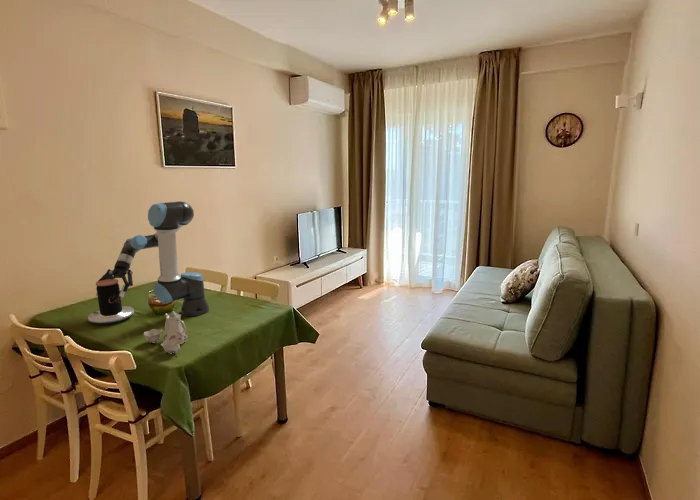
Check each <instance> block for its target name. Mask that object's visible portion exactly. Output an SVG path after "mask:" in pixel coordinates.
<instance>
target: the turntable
mask: <svg viewBox="0 0 700 500" xmlns="http://www.w3.org/2000/svg"><path fill="white" fill-rule="evenodd" d="M134 313H135V309H134V308H133V307H132V306H127V305H122V311H121V312H120V313H118V314H115V315H111V316H103V315H102V314H100V309H98V310H96V311H92V312H91V313H90V314H88V316H87V320H88V322H90V323H92V324H96V323H108V322H114V321H118V320H122V319H125V318H127V317H128V318H130V317H131V316H132V315H134ZM128 318H127V319H128Z"/></svg>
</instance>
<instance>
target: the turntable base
mask: <svg viewBox="0 0 700 500" xmlns="http://www.w3.org/2000/svg"><path fill="white" fill-rule="evenodd" d="M128 318H129V317H127V318H125V319H122V320H118V321H114V322H108V323H95V324H96V325H99V326H100V325H101V326H102V325H103V326H104V325H114V324H118V323H121V322H123V321H126V320H128Z"/></svg>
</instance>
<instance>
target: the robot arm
mask: <svg viewBox="0 0 700 500" xmlns="http://www.w3.org/2000/svg"><path fill="white" fill-rule="evenodd" d="M194 215H195V213H194V209H193V207H192V206H191V205H190V204H189V203H187V202H185V201H169V202H158V203H154V204H152V205H151V206H150V207H149V209H148V211H147V221H149V225H150V226H151V227H153V231H156V232H155V233H153V234H149V235H141V234H137V235H135V236H133V237H132V238H127V239H126V240H125V241H124V243H123V246H122V247H121V251H120V253H119V255H118V257H117V260H116V261H115V264H114V267H113V269H112V270H111V269H110V268H108V269H107V271H106V272H105V274H103V275H102V276H101V277H100V278H99V279H98V280H97V281H96V282H98V281H101V280H107V279H122V281H123V283H124V284H123V285H122V288H121V289H120V294H119V296H120V297H121V299H123V298H124V296H125V294H126V293H127V292H128V289H129V287H133V286H134V284H133V271H132V270H131V265H132V264H133V263H132V262H133V260H134V258H135V256H136V254H137V253H138V252H139V251H142V250H145V249H151V248H157V247H158V259H159V272H160V275H159V276H158V277H157V283H155V284H154V285H153V294H154V295H155V297H156V299H157V300H158V301H159V302H160V303H163V304H168V303H172V302H176V301H177V300H182V299H183V301H182V305H181V309H180V311H181V312H180V313H181V316H185V317H195V316H201V315H203V314H206V313H208V312H209V311H210V306H209V303H208V300H207V299H206V295H205V284H204V283H205V282H204V276H203V274H202V273H200V272H196V271H195V272H194V271H193V272H190V271H188V272H182V273H181V274H179V272H178V271H179V270H178V252H177V237H176V236H177V235H176V234H177V232H179V230H180V229H181V228H183V227H184V226H187V225H188V224H190V223H191V222H192V220H193V218H194ZM126 275H127V277H126ZM95 296H97V292H96V293H95Z"/></svg>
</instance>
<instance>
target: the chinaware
mask: <svg viewBox="0 0 700 500" xmlns="http://www.w3.org/2000/svg"><path fill="white" fill-rule="evenodd" d="M164 316H165V323H164V329H162V328H159V329H157V328H152V329H150V330H148V331H144V332H143V337H145V339H146V340H147V342H149V343H151V342H157V341H159V340H160V339H161V338H162V334H163V332H164V333H165V334H164V336H163V340H162V343H160V347H162V348H163V350H164V351H165V352H166V353H168V354H169V353H173V352H175V353H174V354H178V353H181V347H180V346H181V345H180V344H182V345H184V344H185V343H186V342H187V340H188V338H189V334H188V333H187V331H186V330H187V327H186V324H185V321H183V320H182V319H181V317H182V314H179V313H177V312H176V311H174V310H172V311H171V313H170V314H168V313H164ZM163 330H164V331H163ZM184 342H185V343H184ZM157 343H158V342H157ZM183 343H184V344H183ZM178 350H179V351H178Z"/></svg>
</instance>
